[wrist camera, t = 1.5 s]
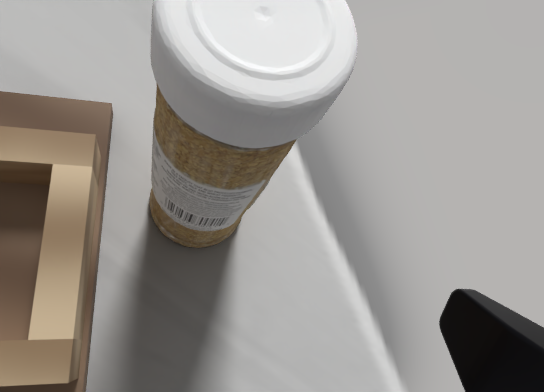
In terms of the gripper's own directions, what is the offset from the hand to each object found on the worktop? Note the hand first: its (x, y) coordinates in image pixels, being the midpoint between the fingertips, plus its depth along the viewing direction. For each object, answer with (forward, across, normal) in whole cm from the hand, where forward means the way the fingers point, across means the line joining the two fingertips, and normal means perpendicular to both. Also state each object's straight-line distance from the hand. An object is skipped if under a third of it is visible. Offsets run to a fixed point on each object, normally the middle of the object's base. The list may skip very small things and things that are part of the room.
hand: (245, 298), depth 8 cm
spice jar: (+13, 0, +5) cm, 14 cm away
